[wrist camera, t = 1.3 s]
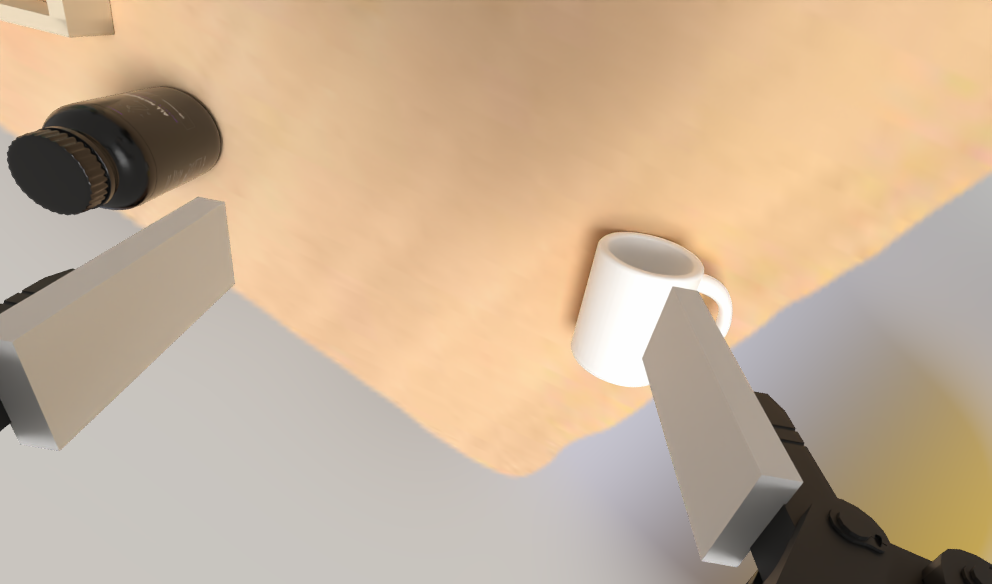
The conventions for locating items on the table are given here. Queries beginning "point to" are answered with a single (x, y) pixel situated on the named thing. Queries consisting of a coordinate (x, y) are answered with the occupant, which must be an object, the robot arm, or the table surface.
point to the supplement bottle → (115, 151)
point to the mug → (635, 302)
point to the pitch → (60, 16)
